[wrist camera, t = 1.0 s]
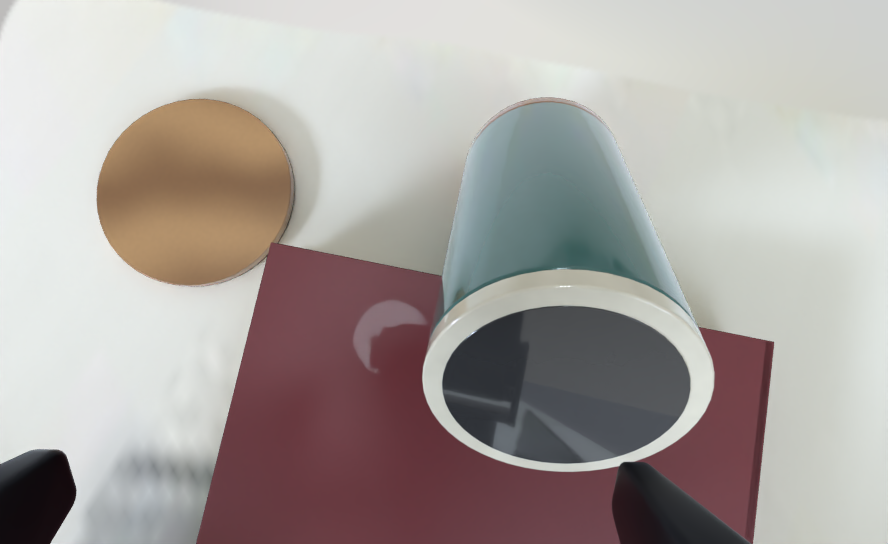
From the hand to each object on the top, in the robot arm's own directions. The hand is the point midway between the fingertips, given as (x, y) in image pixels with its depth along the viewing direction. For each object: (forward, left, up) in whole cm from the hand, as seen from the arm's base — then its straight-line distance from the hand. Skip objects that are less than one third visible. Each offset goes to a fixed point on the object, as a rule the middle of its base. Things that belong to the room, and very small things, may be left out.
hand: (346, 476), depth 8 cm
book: (-4, -3, -14) cm, 15 cm away
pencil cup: (+4, -6, -14) cm, 16 cm away
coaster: (+11, +7, -14) cm, 19 cm away
